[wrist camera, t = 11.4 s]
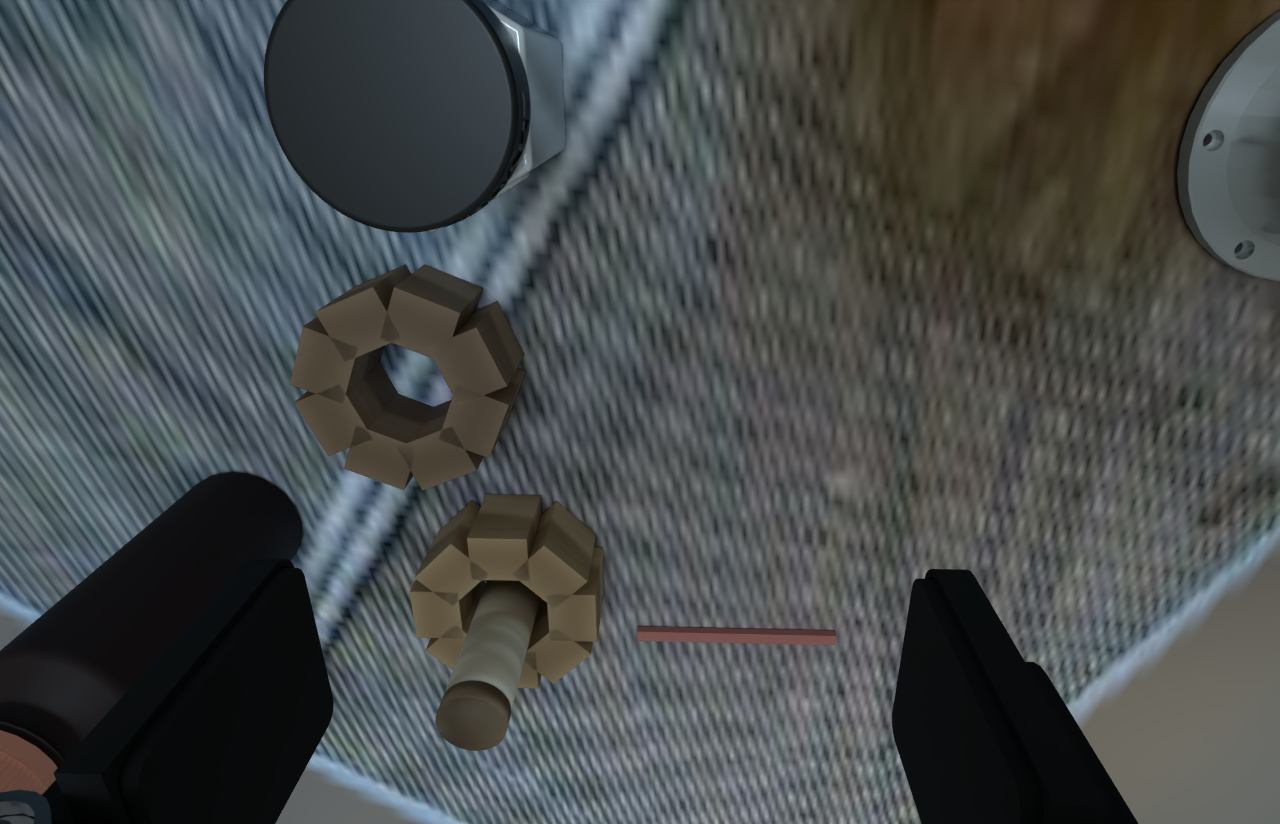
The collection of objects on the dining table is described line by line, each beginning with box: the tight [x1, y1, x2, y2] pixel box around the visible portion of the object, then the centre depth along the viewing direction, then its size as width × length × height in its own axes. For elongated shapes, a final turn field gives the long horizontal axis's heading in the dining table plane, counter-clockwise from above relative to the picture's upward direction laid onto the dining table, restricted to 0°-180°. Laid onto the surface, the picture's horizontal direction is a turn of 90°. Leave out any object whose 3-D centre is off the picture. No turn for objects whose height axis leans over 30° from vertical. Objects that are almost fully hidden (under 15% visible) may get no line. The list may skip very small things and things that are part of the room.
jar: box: [264, 0, 566, 232], centre depth 29 cm, size 9×8×12 cm
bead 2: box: [410, 494, 604, 688], centre depth 43 cm, size 10×10×4 cm
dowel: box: [436, 580, 541, 751], centre depth 40 cm, size 3×3×12 cm
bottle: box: [0, 473, 301, 795], centre depth 36 cm, size 7×7×20 cm
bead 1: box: [290, 265, 526, 490], centre depth 38 cm, size 10×10×4 cm
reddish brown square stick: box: [637, 626, 836, 645], centre depth 46 cm, size 12×1×1 cm, turn 90°
